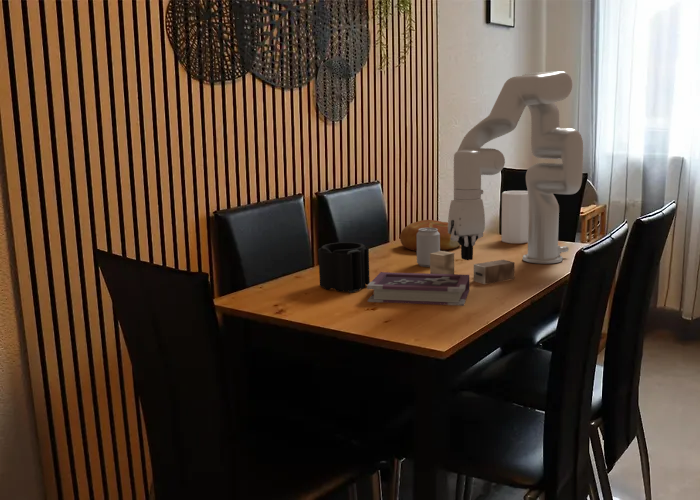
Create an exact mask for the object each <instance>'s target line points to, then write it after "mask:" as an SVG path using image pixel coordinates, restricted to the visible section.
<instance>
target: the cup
mask: <svg viewBox="0 0 700 500" xmlns="http://www.w3.org/2000/svg"><path fill="white" fill-rule="evenodd" d="M528 209H529V202H528V190H507V191H506V190H505V191H503V192H502V193H501V242H502V243H506V244H512V245H514V244H516V245H517V244H520V245H521V244H528Z"/></svg>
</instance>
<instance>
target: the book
mask: <svg viewBox="0 0 700 500" xmlns="http://www.w3.org/2000/svg"><path fill="white" fill-rule="evenodd" d="M366 290H373V294H372V295H371V296H370V297H369V298H367V302H368V303H389V304H390V303H391V304H392V303H393V304H414V305H415V304H417V305H418V304H419V305H420V304H421V305H438V306H443V305H444V306H461V307H463V306H465V304H466V300H467V297H468V295H469V292H470V274H456V273H454V274H430V273H425V272H424V273H422V272H421V273H420V272H419V273H417V272H415V273H414V272H389V271H387V272H384V271H383V272H382V271H381V272H379V273H378V274H377V275H376V276H375V277H374V279H373V280H372V281H370V283H369V284H368V285H366Z"/></svg>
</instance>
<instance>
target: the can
mask: <svg viewBox="0 0 700 500" xmlns="http://www.w3.org/2000/svg"><path fill="white" fill-rule="evenodd" d="M418 230H419V232H418V233H417V251H416V264H418V266H419V267H421V268H423V267H424V268H430V253H434V252H439V251H440V233H439V232H438V231H437V230H438V229H437V228H420V229H418Z"/></svg>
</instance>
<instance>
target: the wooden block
mask: <svg viewBox="0 0 700 500" xmlns="http://www.w3.org/2000/svg"><path fill="white" fill-rule="evenodd" d="M514 279H515V262H513V261H511V260H506V259H499V260H494V261H486V262H479V263H474V264H473V281H474V282H476V283H480V284H482V285H488V284H492V283H493V284H494V283H499V282H506V281H511V280H514Z"/></svg>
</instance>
